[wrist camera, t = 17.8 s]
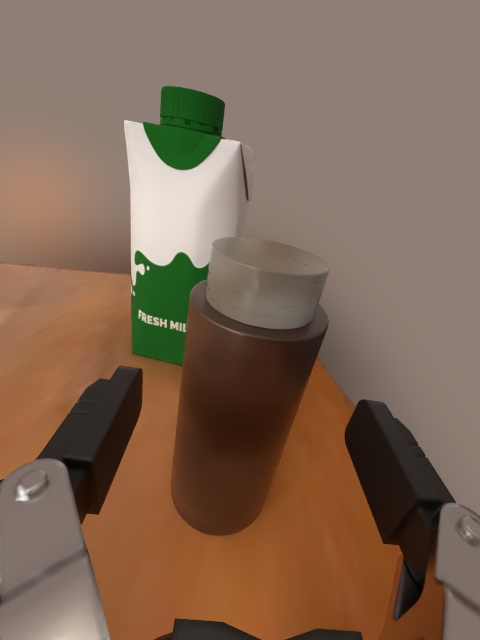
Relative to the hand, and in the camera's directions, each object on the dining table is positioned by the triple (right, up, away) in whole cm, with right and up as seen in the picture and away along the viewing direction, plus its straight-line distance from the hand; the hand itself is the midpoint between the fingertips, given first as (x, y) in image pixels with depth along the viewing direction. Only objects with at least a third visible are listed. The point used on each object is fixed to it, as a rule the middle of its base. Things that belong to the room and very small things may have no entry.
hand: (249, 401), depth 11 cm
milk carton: (-6, +1, +19) cm, 20 cm away
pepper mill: (-2, -7, +7) cm, 9 cm away
